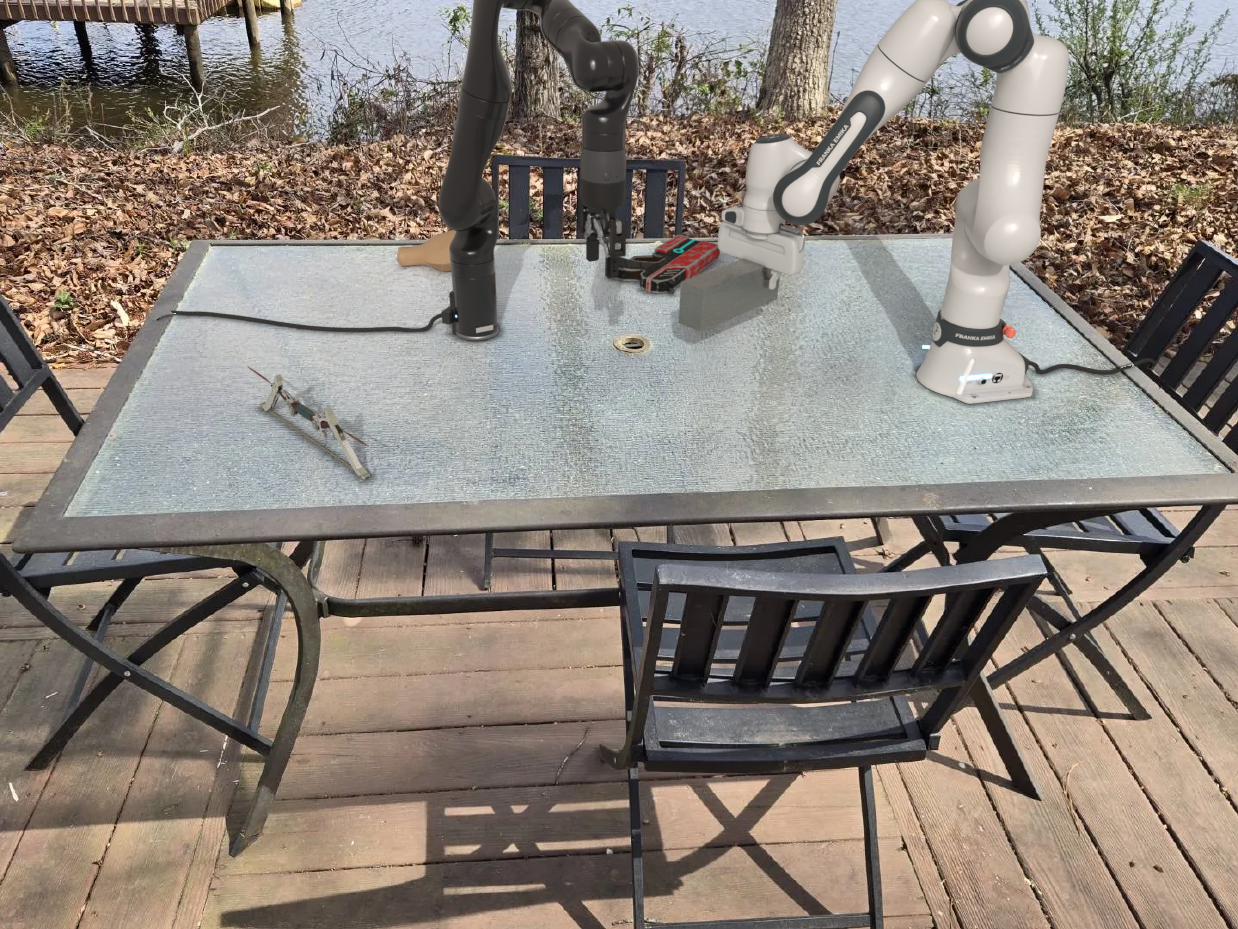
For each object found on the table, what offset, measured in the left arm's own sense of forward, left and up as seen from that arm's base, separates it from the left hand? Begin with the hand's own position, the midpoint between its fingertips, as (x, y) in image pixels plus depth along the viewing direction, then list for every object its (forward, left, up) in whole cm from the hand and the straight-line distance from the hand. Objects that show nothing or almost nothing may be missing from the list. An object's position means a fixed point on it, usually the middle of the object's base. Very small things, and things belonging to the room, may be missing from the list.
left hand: (601, 268), depth 153 cm
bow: (-41, -33, -27) cm, 59 cm away
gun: (-10, +70, -27) cm, 76 cm away
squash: (-64, +48, -27) cm, 85 cm away
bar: (+16, +31, -17) cm, 39 cm away
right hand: (+20, +38, -14) cm, 45 cm away
